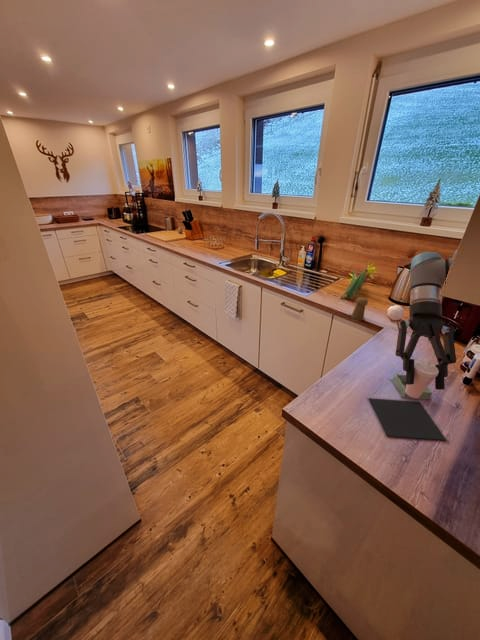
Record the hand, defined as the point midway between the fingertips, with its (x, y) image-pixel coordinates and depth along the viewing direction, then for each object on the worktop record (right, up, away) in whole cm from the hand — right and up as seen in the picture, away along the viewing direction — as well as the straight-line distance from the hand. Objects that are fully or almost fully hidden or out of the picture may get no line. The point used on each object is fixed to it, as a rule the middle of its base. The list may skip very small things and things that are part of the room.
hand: (424, 386), depth 69 cm
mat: (+1, -12, +11) cm, 16 cm away
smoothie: (+1, -4, +6) cm, 7 cm away
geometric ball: (+31, +18, +67) cm, 76 cm away
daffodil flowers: (+25, +34, +97) cm, 106 cm away
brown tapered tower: (+12, +18, +67) cm, 71 cm away
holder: (+10, -7, +22) cm, 25 cm away
